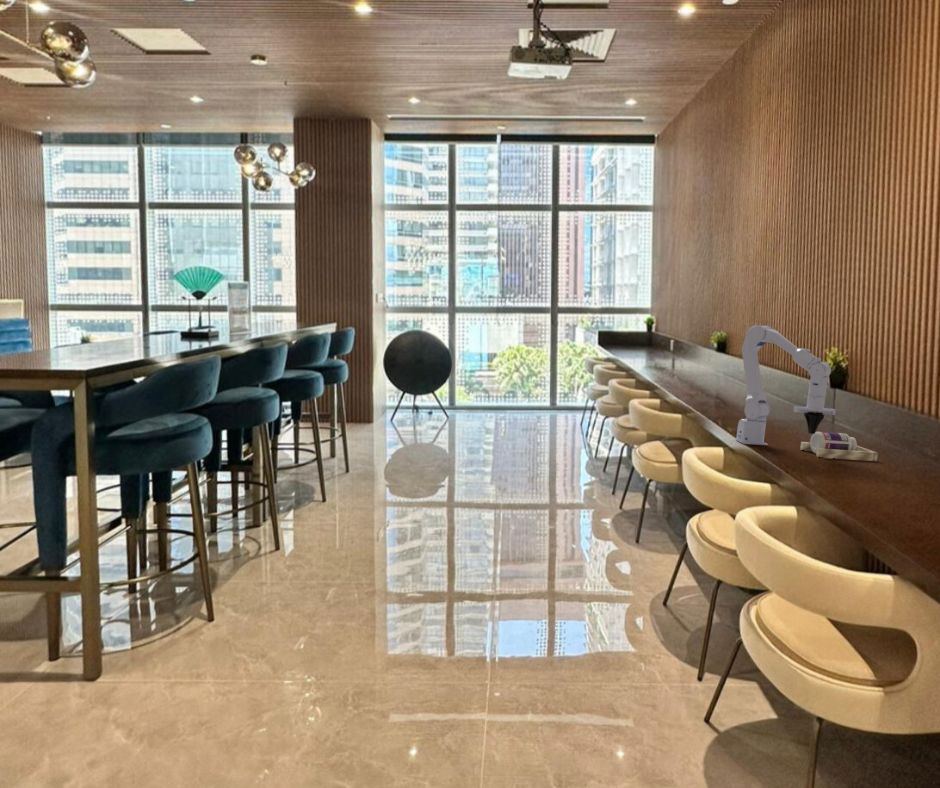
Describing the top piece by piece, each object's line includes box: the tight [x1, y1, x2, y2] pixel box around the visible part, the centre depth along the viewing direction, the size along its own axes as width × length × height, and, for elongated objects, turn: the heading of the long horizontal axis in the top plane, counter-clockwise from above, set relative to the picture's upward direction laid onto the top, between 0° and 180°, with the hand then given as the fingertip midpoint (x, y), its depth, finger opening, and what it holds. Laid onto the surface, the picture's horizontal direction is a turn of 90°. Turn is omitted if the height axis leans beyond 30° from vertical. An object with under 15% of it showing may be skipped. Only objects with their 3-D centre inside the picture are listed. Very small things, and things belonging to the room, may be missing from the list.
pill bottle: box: [809, 431, 858, 454], centre depth 283 cm, size 8×8×14 cm
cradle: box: [799, 441, 879, 462], centre depth 282 cm, size 22×13×3 cm, turn 94°
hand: (811, 433), depth 281 cm, fingers closed
